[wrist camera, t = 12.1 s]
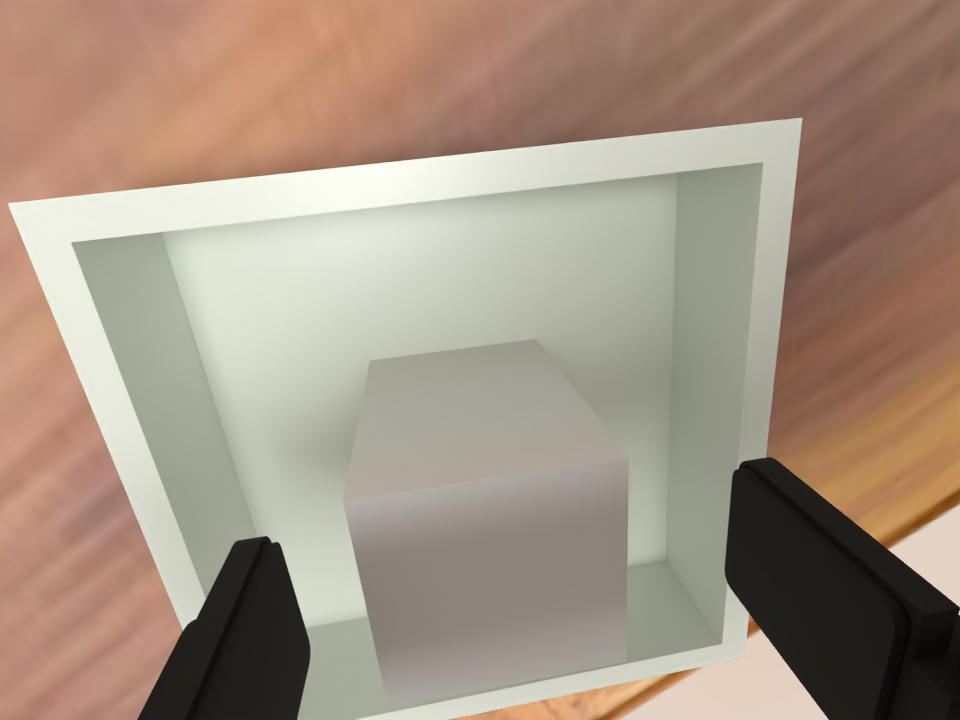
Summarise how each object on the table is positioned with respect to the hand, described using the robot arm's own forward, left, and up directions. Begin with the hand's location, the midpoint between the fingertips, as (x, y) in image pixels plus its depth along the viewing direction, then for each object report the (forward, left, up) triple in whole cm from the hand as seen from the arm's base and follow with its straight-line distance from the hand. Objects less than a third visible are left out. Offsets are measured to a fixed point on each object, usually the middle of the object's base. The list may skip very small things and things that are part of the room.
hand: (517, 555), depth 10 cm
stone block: (+1, 0, -6) cm, 6 cm away
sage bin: (+1, 0, -7) cm, 7 cm away
